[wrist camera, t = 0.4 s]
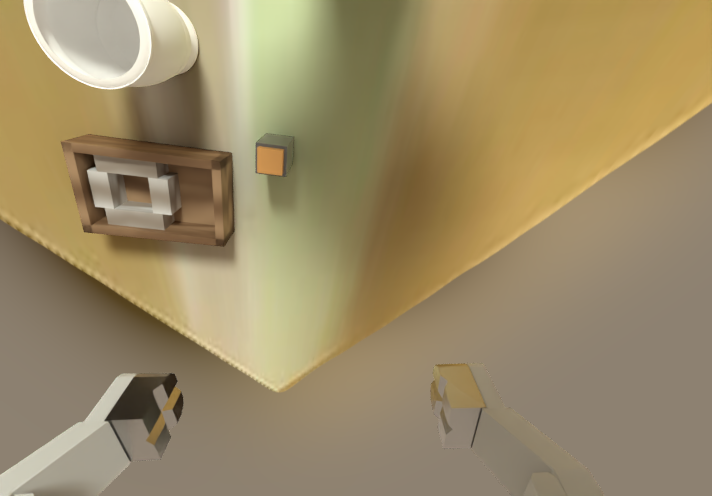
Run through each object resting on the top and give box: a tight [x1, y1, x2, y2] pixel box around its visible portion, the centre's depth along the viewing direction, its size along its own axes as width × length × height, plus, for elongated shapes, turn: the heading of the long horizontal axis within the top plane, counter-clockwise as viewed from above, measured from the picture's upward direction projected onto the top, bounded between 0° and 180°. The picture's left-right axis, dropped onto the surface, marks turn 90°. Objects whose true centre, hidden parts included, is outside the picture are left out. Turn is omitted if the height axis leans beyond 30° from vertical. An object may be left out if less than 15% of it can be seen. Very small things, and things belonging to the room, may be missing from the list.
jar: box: [24, 0, 198, 89], centre depth 37 cm, size 11×10×15 cm
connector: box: [256, 133, 294, 177], centre depth 47 cm, size 4×4×8 cm
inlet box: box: [61, 134, 234, 246], centre depth 50 cm, size 13×20×6 cm, turn 82°
